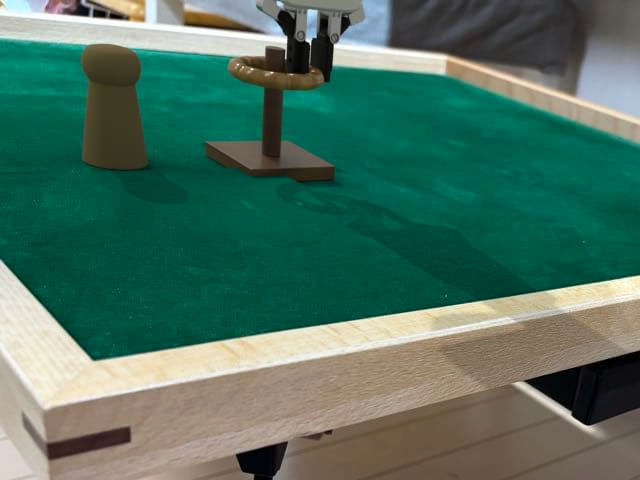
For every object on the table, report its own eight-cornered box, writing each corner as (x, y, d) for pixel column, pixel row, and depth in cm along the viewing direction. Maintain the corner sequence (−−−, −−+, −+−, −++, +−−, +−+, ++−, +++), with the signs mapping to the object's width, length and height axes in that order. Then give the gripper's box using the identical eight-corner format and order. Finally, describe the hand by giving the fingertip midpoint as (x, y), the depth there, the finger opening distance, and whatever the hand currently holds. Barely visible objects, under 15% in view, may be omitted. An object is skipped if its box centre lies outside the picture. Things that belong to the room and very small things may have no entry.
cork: (154, 157, 92) (152, 46, 86) (140, 173, 86) (137, 56, 81) (91, 148, 90) (85, 35, 85) (73, 163, 85) (66, 44, 80)
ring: (256, 91, 86) (256, 75, 85) (211, 68, 92) (211, 52, 91) (340, 92, 93) (341, 76, 92) (294, 71, 98) (294, 55, 97)
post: (250, 183, 90) (254, 56, 84) (205, 155, 96) (206, 33, 90) (334, 179, 97) (343, 61, 91) (287, 153, 103) (293, 40, 97)
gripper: (366, -106, 93) (351, 73, 102) (225, -136, 83) (222, 67, 91) (408, -97, 89) (389, 89, 98) (265, -127, 78) (258, 85, 87)
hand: (308, 77), depth 95 cm, fingers closed on ring, 2 cm apart
